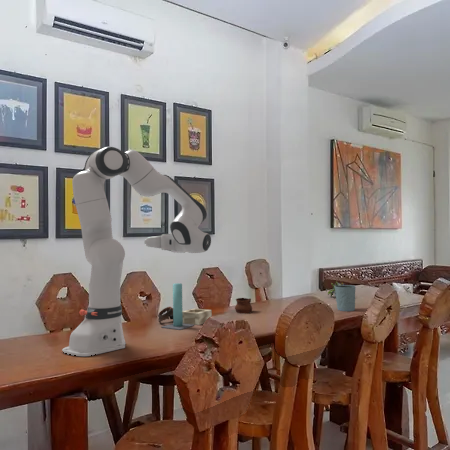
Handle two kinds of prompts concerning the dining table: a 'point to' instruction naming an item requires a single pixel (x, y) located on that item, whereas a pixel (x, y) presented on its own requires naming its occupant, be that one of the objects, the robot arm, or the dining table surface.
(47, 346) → the dining table surface
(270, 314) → the dining table surface
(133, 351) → the dining table surface
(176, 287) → the peg
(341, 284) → the passion flower
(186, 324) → the mat
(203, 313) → the socket block
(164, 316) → the brown hollow arch
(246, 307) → the ceramic pot
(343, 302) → the blue-grey planter
